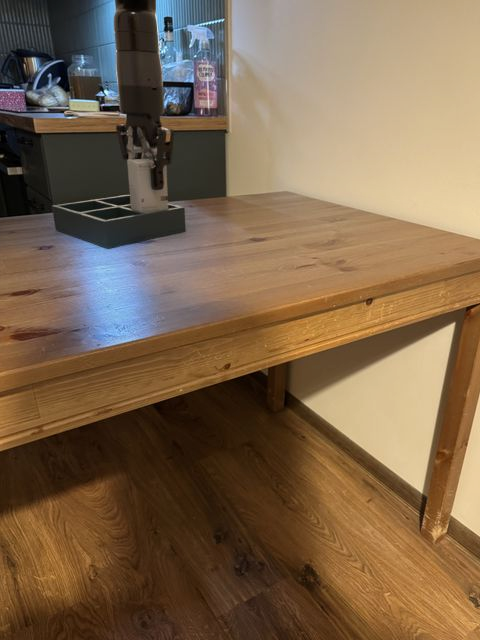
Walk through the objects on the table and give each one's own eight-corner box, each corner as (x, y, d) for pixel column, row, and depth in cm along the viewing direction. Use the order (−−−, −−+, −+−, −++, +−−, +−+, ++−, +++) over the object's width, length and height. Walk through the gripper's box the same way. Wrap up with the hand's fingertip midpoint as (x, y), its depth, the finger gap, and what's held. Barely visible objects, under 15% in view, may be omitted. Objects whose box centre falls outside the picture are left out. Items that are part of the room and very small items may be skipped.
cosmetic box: (140, 231, 92) (135, 162, 87) (131, 226, 96) (125, 159, 90) (171, 227, 96) (167, 160, 90) (160, 222, 99) (156, 157, 93)
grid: (55, 230, 95) (51, 205, 93) (132, 216, 106) (130, 194, 104) (107, 248, 85) (104, 221, 83) (185, 231, 96) (184, 207, 94)
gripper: (97, 82, 86) (108, 184, 94) (148, 83, 78) (156, 195, 85) (133, 83, 91) (141, 180, 99) (185, 84, 83) (189, 190, 91)
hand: (148, 187), depth 92 cm, fingers closed on cosmetic box, 5 cm apart
